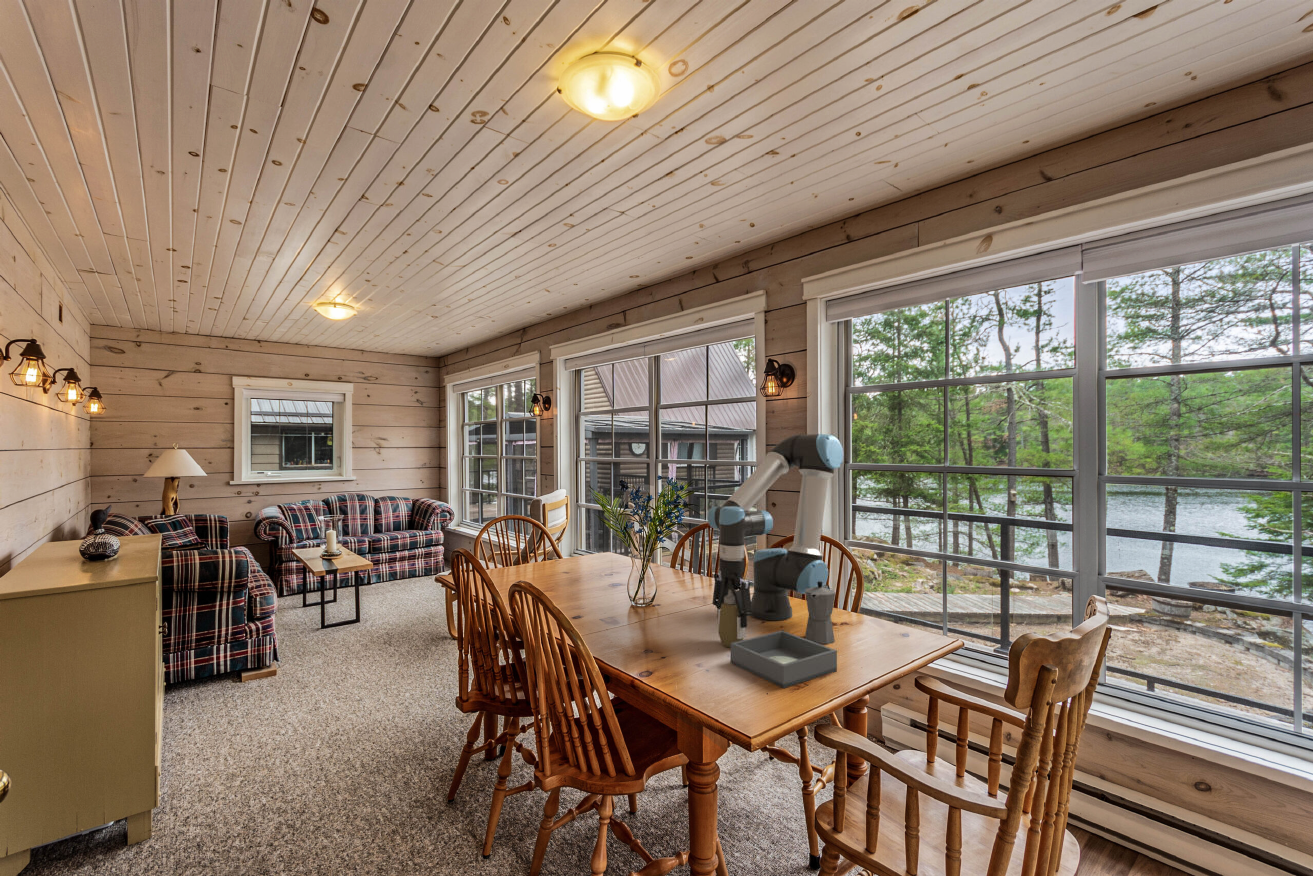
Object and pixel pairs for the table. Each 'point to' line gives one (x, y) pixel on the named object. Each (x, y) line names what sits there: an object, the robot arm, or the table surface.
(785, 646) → the bin
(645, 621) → the table surface
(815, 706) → the table surface
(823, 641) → the coffeepot
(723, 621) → the squeeze bottle
